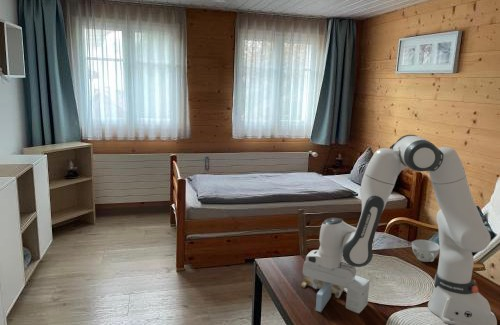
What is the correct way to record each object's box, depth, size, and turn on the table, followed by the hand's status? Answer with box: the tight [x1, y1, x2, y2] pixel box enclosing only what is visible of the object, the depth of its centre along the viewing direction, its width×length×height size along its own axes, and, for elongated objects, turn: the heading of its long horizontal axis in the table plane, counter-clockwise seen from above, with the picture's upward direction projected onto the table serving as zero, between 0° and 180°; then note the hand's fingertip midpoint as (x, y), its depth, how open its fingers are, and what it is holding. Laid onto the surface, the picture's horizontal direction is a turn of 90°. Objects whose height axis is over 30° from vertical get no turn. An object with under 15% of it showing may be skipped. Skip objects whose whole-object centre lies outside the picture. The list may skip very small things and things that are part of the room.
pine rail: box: [300, 275, 345, 299], centre depth 154 cm, size 16×7×8 cm, turn 60°
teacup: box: [411, 239, 440, 263], centre depth 181 cm, size 15×12×8 cm
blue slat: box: [315, 282, 332, 313], centre depth 144 cm, size 12×2×7 cm, turn 150°
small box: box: [345, 275, 371, 314], centre depth 142 cm, size 8×6×10 cm
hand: (327, 291), depth 147 cm, fingers open, 8 cm apart
